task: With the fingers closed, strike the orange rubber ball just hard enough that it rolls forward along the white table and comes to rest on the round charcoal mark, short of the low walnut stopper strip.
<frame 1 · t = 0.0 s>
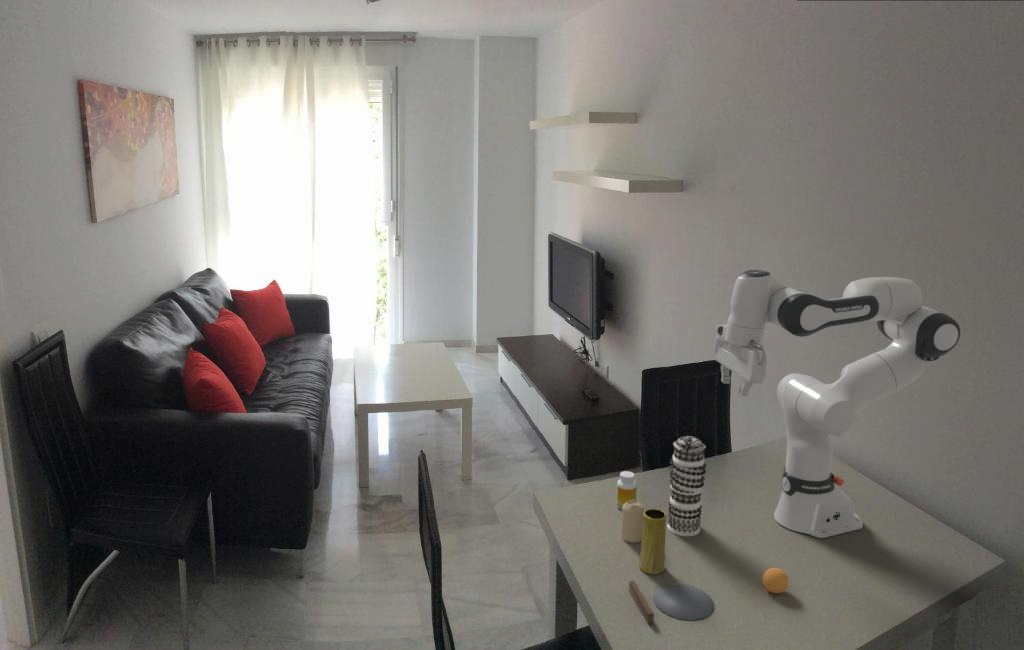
hand: (733, 388, 187), 39 cm above the table, tool pointing down, fingers open, 8 cm apart
candle: (631, 538, 193), on the table
stopper strip: (640, 606, 164), on the table
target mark: (683, 601, 166), on the table
ball: (775, 580, 170), on the table
decorative candle: (683, 528, 197), on the table
supplement bottle: (625, 506, 208), on the table
vase: (651, 568, 179), on the table
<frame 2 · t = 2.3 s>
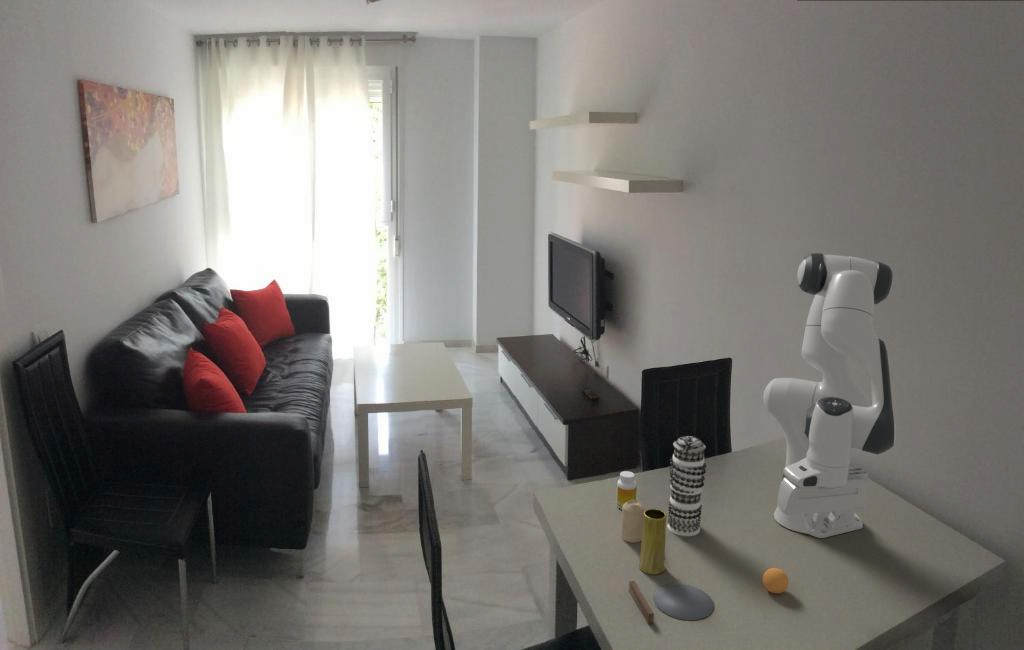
hand: (819, 527, 168), 15 cm above the table, tool pointing down, fingers open, 3 cm apart
nothing on the table moved.
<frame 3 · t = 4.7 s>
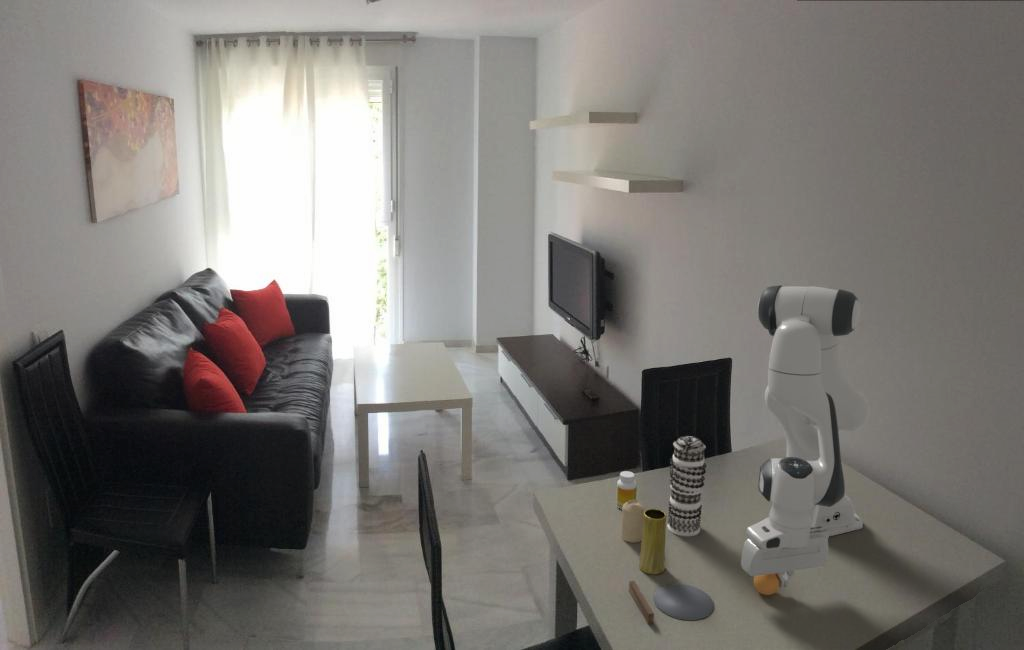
hand: (782, 585, 169), 2 cm above the table, tool pointing down, fingers closed
ball: (766, 582, 169), on the table, touching gripper
everything else where it was.
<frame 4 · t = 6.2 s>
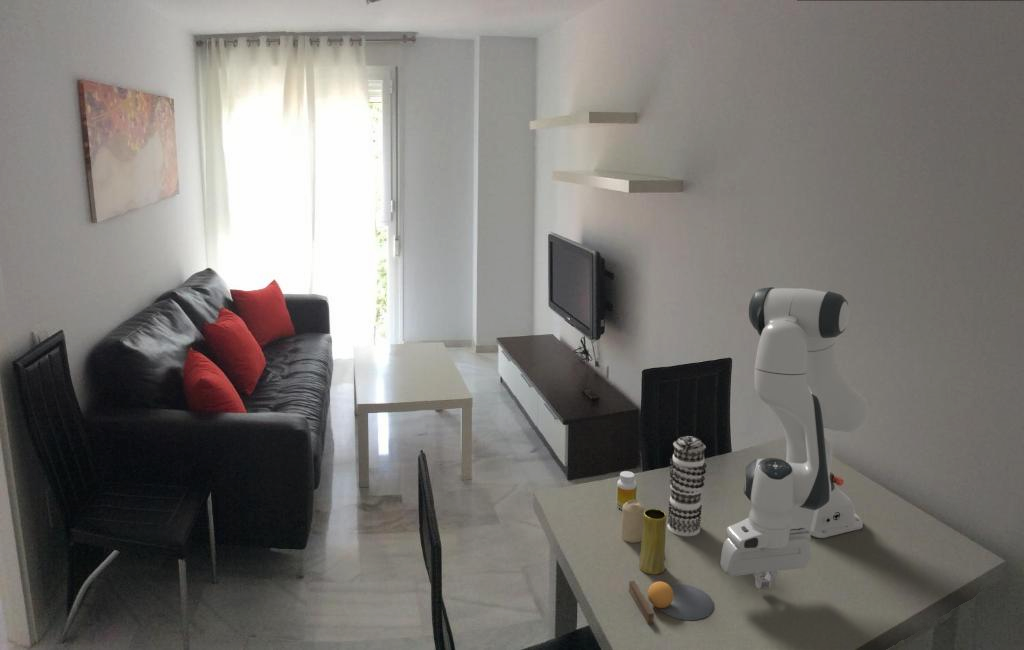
hand: (762, 586, 169), 2 cm above the table, tool pointing down, fingers closed
ball: (660, 594, 164), on the table
everything else where it was.
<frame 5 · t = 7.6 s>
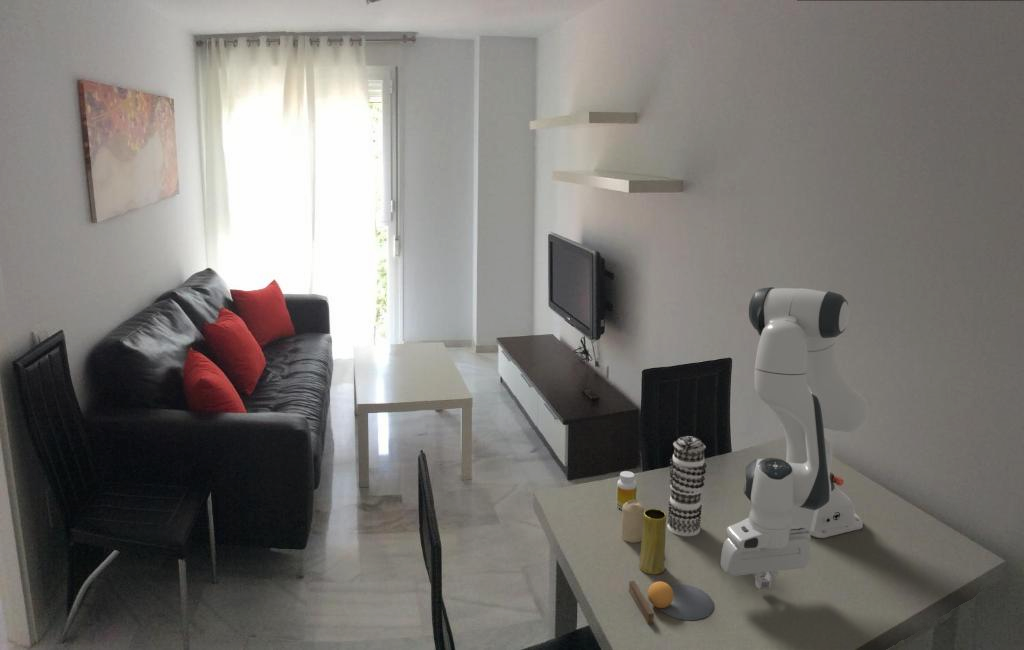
hand: (762, 586, 169), 2 cm above the table, tool pointing down, fingers closed
nothing on the table moved.
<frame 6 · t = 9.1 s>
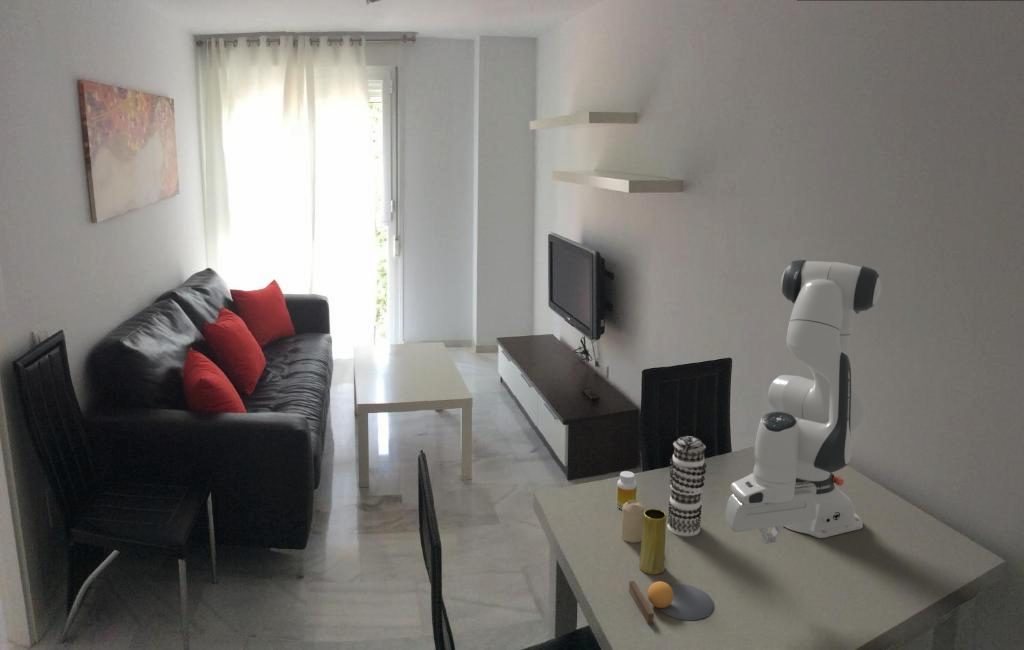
hand: (769, 542, 167), 13 cm above the table, tool pointing down, fingers closed
nothing on the table moved.
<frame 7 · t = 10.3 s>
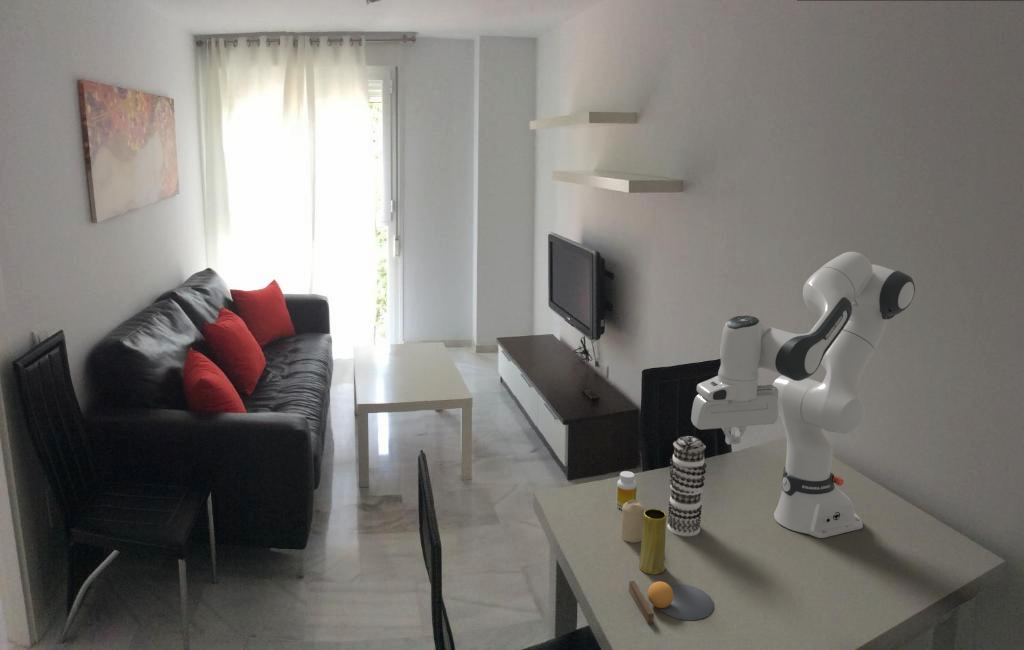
hand: (732, 443, 175), 31 cm above the table, tool pointing down, fingers closed
nothing on the table moved.
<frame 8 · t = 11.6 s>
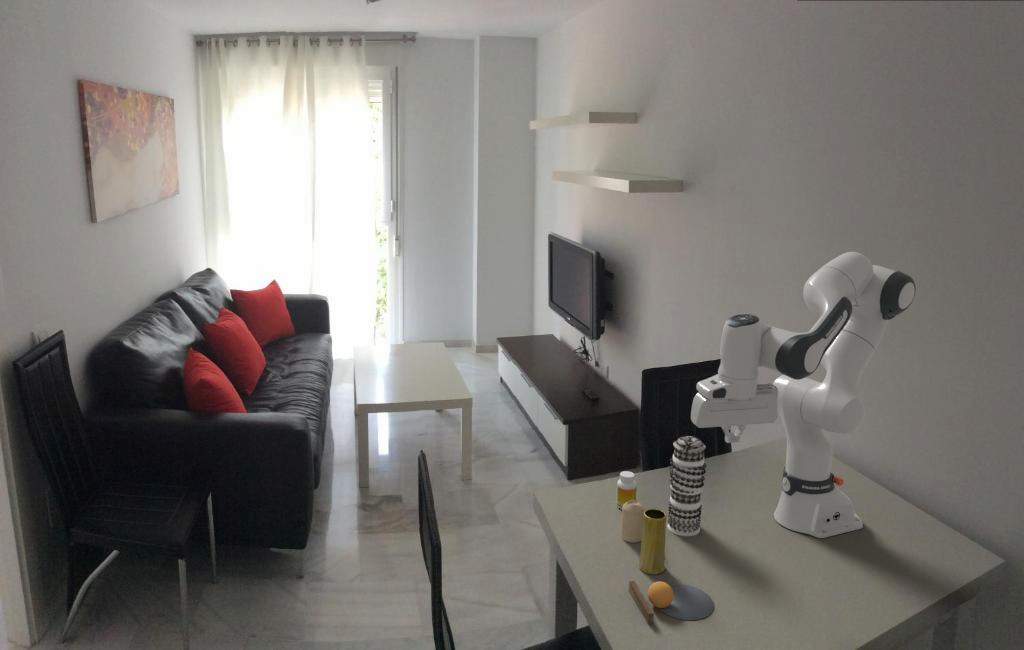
hand: (732, 441, 175), 31 cm above the table, tool pointing down, fingers closed
nothing on the table moved.
at the end: ball 5.7 cm from the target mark (horizontally); ball at rest at the end (0.0 cm/s); ball moved 27.7 cm from its start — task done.
